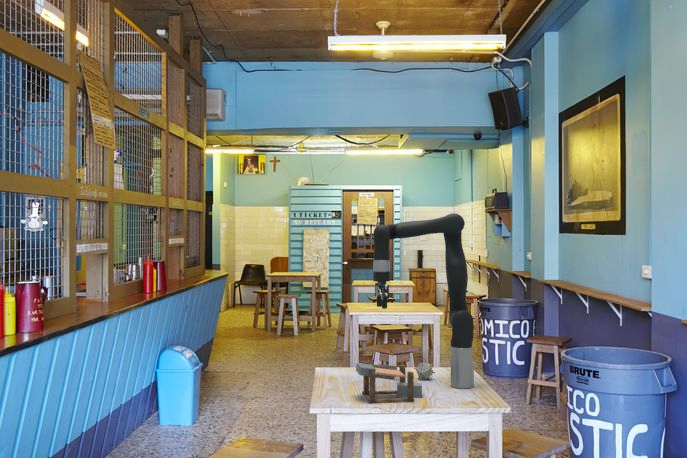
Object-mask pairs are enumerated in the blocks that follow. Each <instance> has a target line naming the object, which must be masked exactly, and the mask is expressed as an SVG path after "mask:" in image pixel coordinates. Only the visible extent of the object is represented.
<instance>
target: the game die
mask: <svg viewBox="0 0 687 458" xmlns="http://www.w3.org/2000/svg"><path fill="white" fill-rule="evenodd" d="M431 364H432V361H430V362H422V360H421V361H420V363H419V365H417V367H415V368H413V369H414V370H415V371H416V374H417V377H418V378H417V380H419V379H424V380H427V381H430V380H429V379H430V377H431V376H432V375H433V374H436V371H434V370H433V368H432V365H431Z"/></svg>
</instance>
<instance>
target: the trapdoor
mask: <svg viewBox="0 0 687 458" xmlns="http://www.w3.org/2000/svg"><path fill="white" fill-rule="evenodd" d="M372 368H374V367H373V366H372V365H371V364H370V363H369V364H363V363H361V362H356V367H355V371H356V372H357V374H358V375H359V376H362V377H363V376H369V369H372ZM375 369H376V373H375V375H376V374H378V375H386V376H395V377H397V378H399V377H403V378H405V379H406V374H405V375H404V374H403V373H401V372H400V371H399V370H398V369H397V370H390V369H382V368H375ZM395 377H394V378H395Z"/></svg>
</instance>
